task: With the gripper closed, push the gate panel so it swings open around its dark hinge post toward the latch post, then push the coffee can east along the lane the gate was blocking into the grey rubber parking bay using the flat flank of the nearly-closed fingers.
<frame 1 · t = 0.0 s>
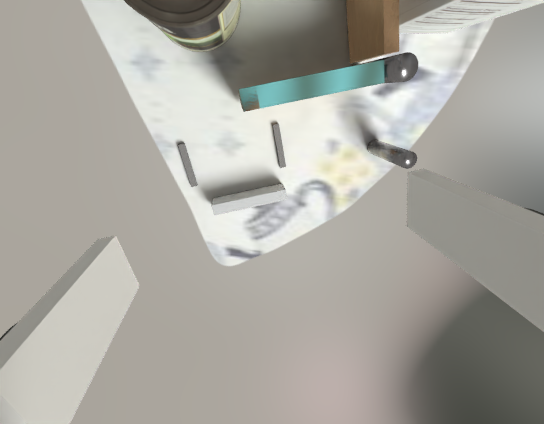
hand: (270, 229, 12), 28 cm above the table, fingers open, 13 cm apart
gate: (302, 87, 31), point 6 cm above the table, hinge at 0.0°
parking bay: (236, 165, 39), on the table
coffee can: (196, 1, 32), on the table
gate posts: (354, 75, 36), on the table
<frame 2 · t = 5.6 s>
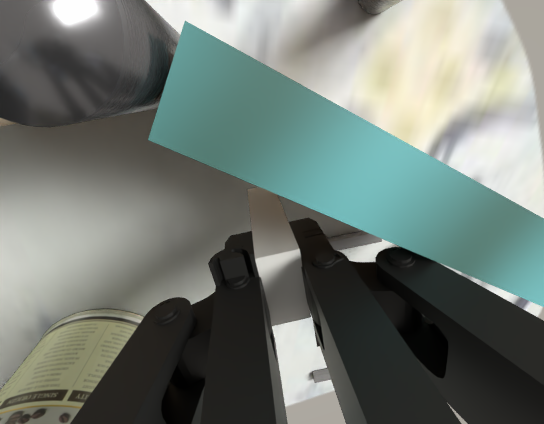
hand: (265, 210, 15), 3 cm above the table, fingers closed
gate: (372, 173, 11), point 6 cm above the table, hinge at 55.0°, touching hand
parking bay: (360, 308, 22), on the table
coffee can: (114, 356, 21), on the table
gate posts: (188, 76, 14), on the table
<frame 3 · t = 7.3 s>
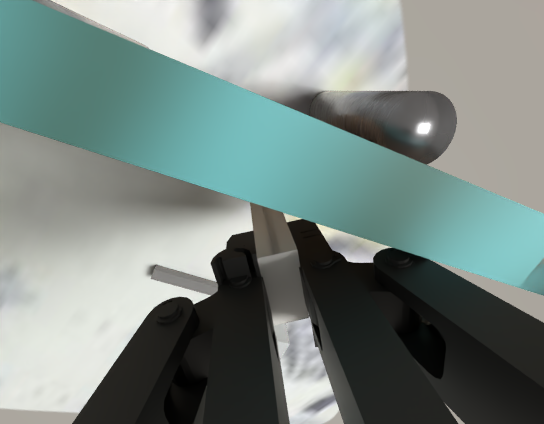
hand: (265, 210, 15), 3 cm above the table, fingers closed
gate: (314, 150, 10), point 6 cm above the table, hinge at 93.1°, touching gate posts, hand
parking bay: (189, 349, 22), on the table
gate posts: (135, 68, 14), on the table
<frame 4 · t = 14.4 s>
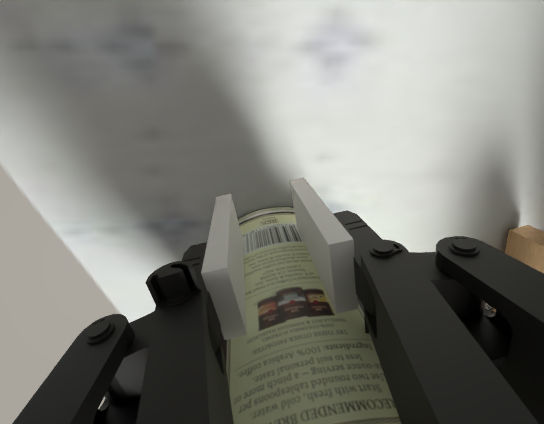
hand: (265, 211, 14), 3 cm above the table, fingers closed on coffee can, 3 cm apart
coffee can: (277, 269, 20), on the table, touching gripper
gate posts: (493, 317, 25), on the table
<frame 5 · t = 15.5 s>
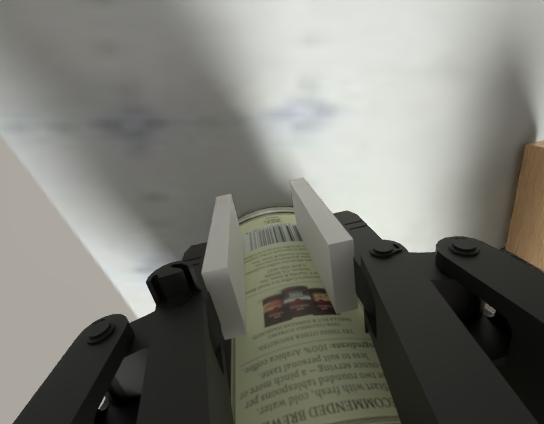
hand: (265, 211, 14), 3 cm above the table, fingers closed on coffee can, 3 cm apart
coffee can: (277, 269, 20), on the table, touching gripper
gate posts: (505, 259, 22), on the table
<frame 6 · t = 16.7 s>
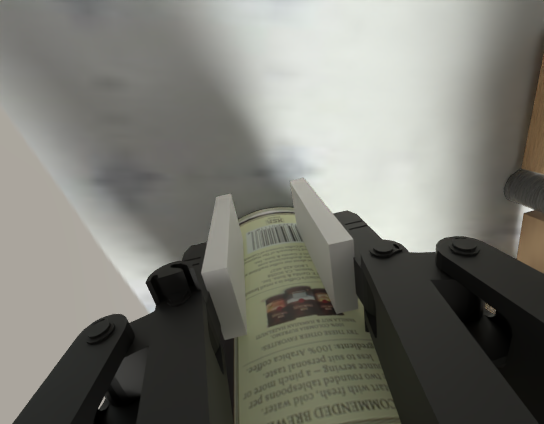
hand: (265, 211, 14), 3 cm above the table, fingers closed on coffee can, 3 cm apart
coffee can: (278, 270, 20), on the table, touching gripper
gate posts: (520, 185, 19), on the table
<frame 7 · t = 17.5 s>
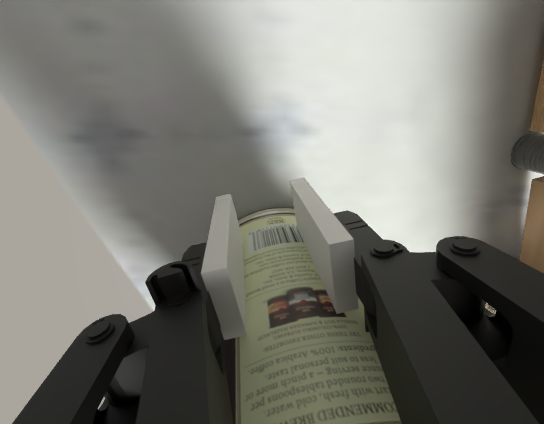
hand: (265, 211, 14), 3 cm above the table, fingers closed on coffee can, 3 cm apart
coffee can: (278, 271, 20), on the table, touching gripper
gate posts: (528, 150, 18), on the table
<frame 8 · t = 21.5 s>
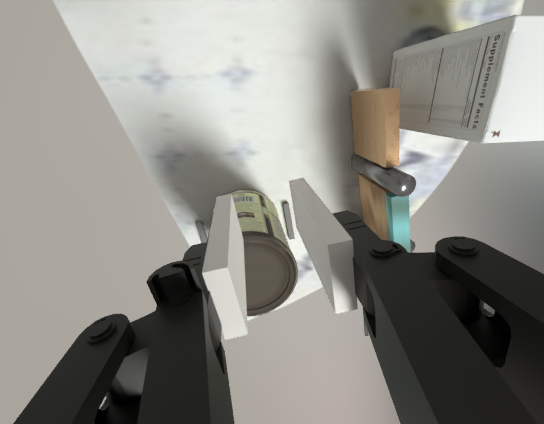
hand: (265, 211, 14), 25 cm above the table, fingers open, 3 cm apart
gate: (383, 230, 38), point 6 cm above the table, hinge at 93.1°, touching gate posts
supplement box: (419, 89, 37), on the table
parking bay: (249, 238, 43), on the table
coffee can: (245, 221, 42), on the table
gate posts: (358, 160, 40), on the table
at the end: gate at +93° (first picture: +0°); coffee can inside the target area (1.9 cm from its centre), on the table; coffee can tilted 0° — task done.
